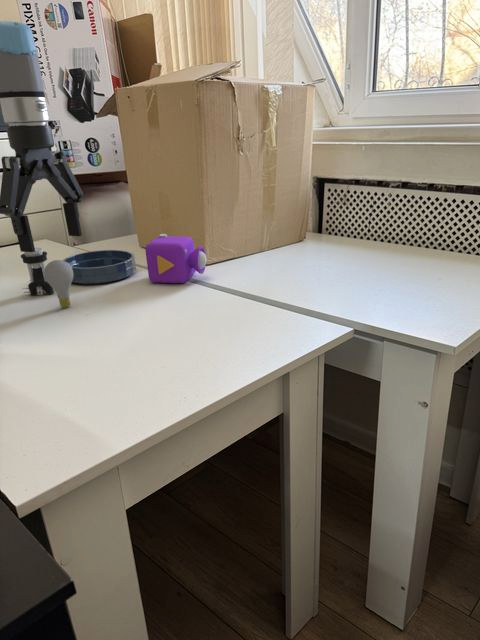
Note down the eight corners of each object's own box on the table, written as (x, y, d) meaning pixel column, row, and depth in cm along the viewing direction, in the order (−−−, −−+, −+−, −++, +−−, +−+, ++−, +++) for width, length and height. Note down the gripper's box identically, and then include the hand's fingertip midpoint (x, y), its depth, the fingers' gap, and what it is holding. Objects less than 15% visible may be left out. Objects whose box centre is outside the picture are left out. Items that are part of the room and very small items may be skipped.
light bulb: (46, 311, 103) (36, 263, 99) (60, 302, 108) (50, 256, 104) (71, 312, 102) (61, 264, 98) (84, 303, 107) (75, 256, 103)
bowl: (49, 282, 121) (45, 265, 120) (93, 263, 136) (90, 248, 134) (110, 288, 116) (107, 270, 114) (149, 268, 131) (147, 251, 129)
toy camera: (206, 284, 116) (203, 241, 112) (147, 286, 117) (141, 243, 112) (210, 271, 126) (207, 231, 122) (155, 273, 126) (150, 232, 122)
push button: (20, 298, 111) (9, 253, 107) (27, 291, 116) (17, 247, 112) (51, 296, 112) (42, 251, 108) (57, 289, 117) (48, 246, 113)
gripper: (-11, 126, 79) (21, 260, 88) (89, 122, 100) (106, 230, 109) (-47, 127, 81) (-12, 258, 90) (58, 123, 102) (77, 229, 111)
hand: (53, 243), depth 99 cm, fingers open, 13 cm apart
